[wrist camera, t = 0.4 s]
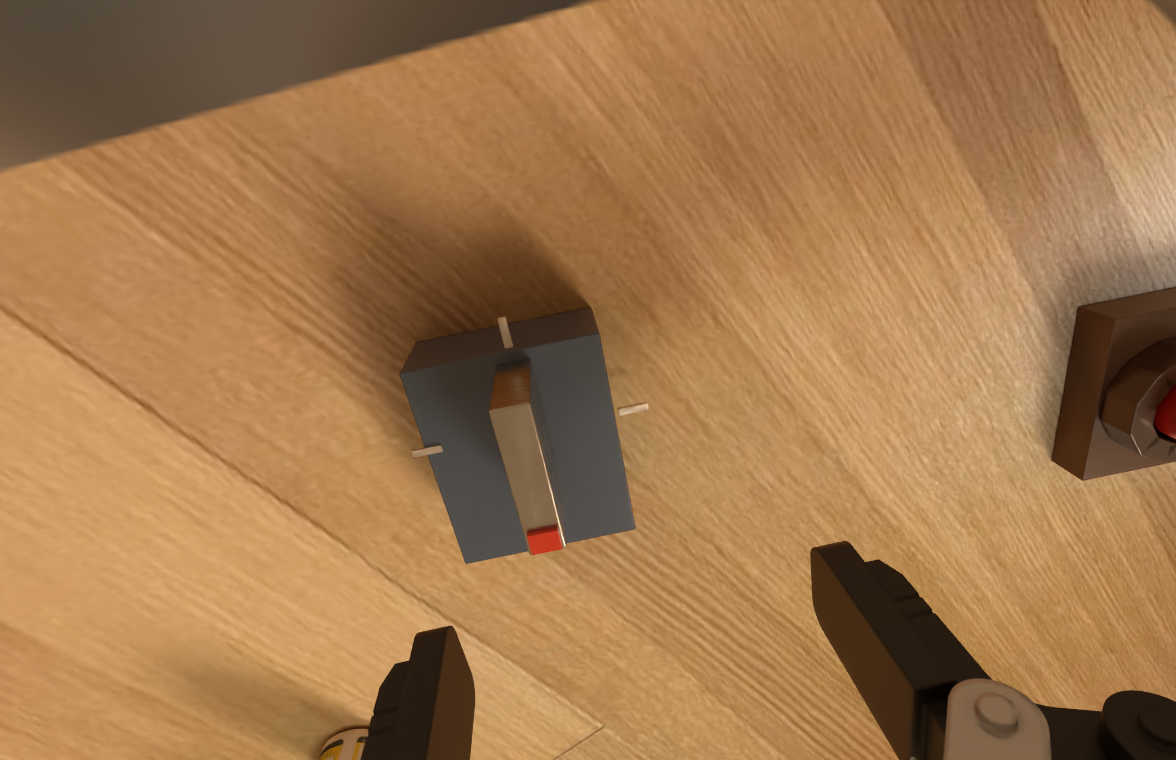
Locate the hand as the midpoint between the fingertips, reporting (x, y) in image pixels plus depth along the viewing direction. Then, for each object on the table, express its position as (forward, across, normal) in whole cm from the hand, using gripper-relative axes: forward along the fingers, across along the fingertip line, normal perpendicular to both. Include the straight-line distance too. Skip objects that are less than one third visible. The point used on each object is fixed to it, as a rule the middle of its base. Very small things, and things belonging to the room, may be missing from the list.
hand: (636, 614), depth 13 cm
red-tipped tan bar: (+15, +3, +2) cm, 15 cm away
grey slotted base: (+19, +3, +4) cm, 19 cm away
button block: (+18, -31, +9) cm, 37 cm away
